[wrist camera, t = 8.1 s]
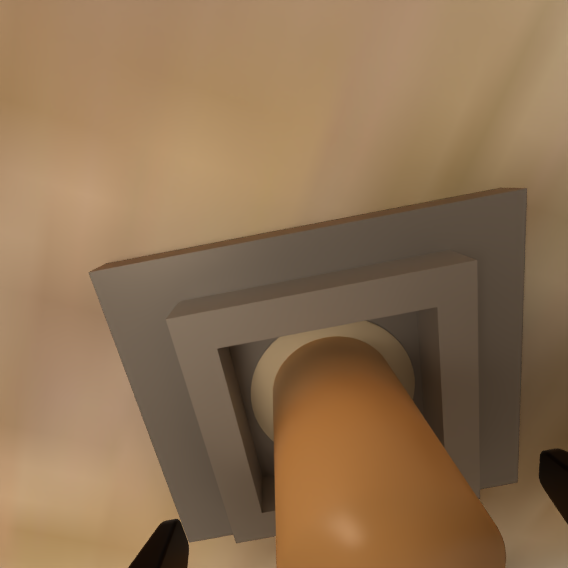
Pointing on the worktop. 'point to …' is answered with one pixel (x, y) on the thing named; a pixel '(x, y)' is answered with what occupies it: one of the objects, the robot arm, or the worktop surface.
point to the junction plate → (315, 325)
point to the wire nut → (366, 471)
